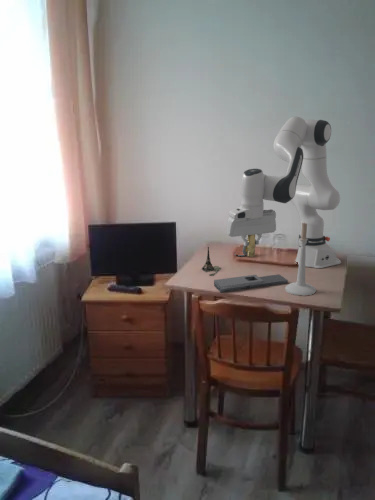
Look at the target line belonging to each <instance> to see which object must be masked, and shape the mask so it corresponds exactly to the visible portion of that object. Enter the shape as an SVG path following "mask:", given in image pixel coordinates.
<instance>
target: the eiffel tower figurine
mask: <svg viewBox="0 0 375 500" xmlns="http://www.w3.org/2000/svg"><path fill="white" fill-rule="evenodd" d="M206 255H207V256H206V260H205V263H204V265H203V266H202V267H201V270H202V271H203V272H204V273H208V272H214V273H210V274H209V276H211V277H213V276H215V275H217V274H218V273H219V272H220V270H221V269H222V267H220V266H218V265H214V266H213V264H212V263H211V258H210V246H209V245H208V246H207V254H206Z"/></svg>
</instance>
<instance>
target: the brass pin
mask: <svg viewBox="0 0 375 500" xmlns="http://www.w3.org/2000/svg"><path fill="white" fill-rule="evenodd" d="M247 238H248V239H247V240H248V241H249V246H248V247H247V255H246V257H249V258H254V257H256V245H255V239H256V234H254V235H247Z"/></svg>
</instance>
